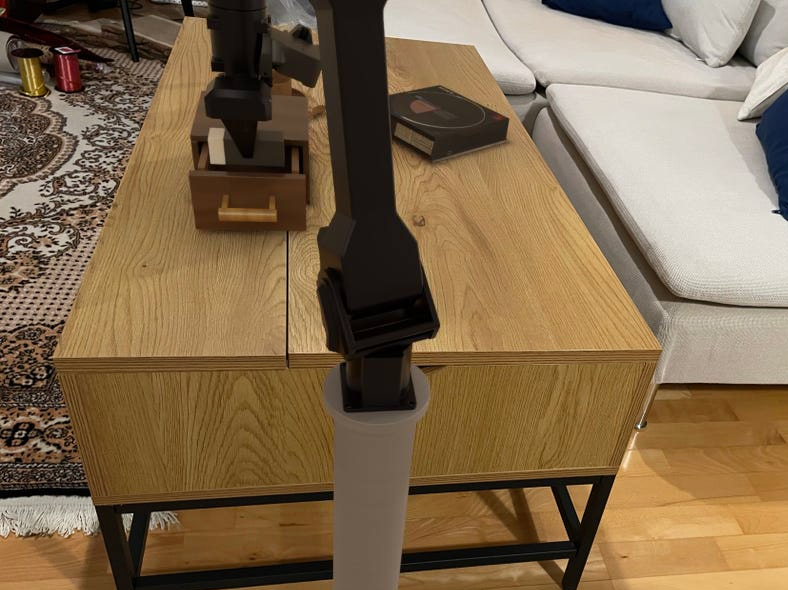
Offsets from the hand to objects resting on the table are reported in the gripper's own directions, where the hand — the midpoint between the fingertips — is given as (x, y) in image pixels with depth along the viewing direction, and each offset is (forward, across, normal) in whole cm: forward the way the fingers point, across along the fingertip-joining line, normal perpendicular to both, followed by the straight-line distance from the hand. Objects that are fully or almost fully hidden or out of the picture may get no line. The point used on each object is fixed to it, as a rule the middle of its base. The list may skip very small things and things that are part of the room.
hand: (248, 151), depth 80 cm
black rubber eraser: (+1, 0, 0) cm, 1 cm away
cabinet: (+9, +12, 0) cm, 15 cm away
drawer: (+8, +1, 0) cm, 8 cm away
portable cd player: (+9, +30, -27) cm, 41 cm away
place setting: (+9, +41, -3) cm, 42 cm away
